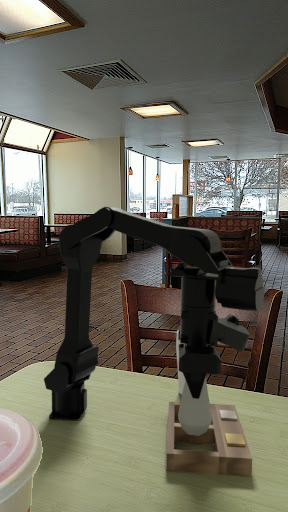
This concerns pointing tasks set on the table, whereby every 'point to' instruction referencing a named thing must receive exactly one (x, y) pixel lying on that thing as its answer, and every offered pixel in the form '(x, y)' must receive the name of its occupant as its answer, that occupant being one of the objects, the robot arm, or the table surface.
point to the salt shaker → (195, 411)
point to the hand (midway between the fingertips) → (195, 393)
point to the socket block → (219, 433)
